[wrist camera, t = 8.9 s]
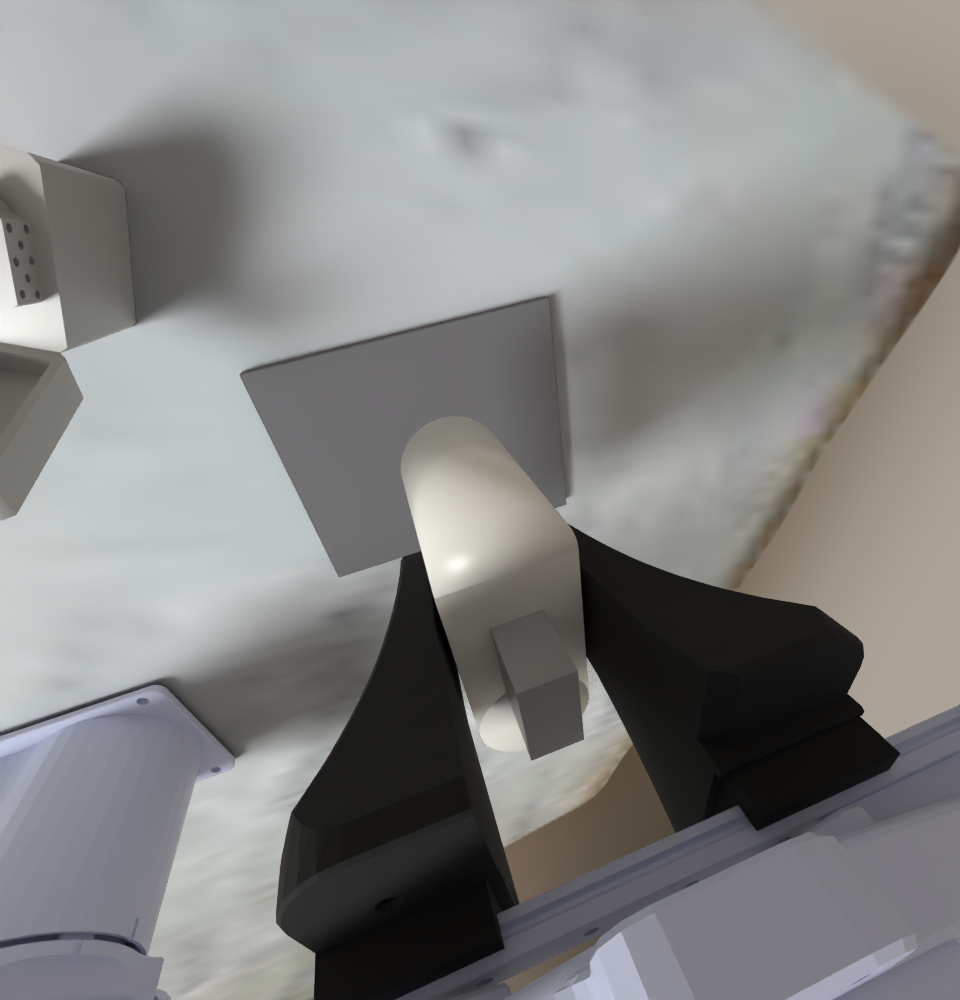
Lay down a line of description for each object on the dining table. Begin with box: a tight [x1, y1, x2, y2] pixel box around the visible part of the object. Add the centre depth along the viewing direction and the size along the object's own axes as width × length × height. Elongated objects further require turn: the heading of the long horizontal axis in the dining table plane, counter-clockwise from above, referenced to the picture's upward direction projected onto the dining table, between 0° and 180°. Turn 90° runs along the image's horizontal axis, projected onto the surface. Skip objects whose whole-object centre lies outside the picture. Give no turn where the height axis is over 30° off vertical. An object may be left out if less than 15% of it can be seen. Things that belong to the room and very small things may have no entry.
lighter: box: [0, 144, 136, 520], centre depth 10 cm, size 7×2×8 cm, turn 164°
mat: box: [240, 297, 566, 577], centre depth 19 cm, size 12×10×1 cm
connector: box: [401, 416, 589, 761], centre depth 11 cm, size 3×8×7 cm, turn 10°
